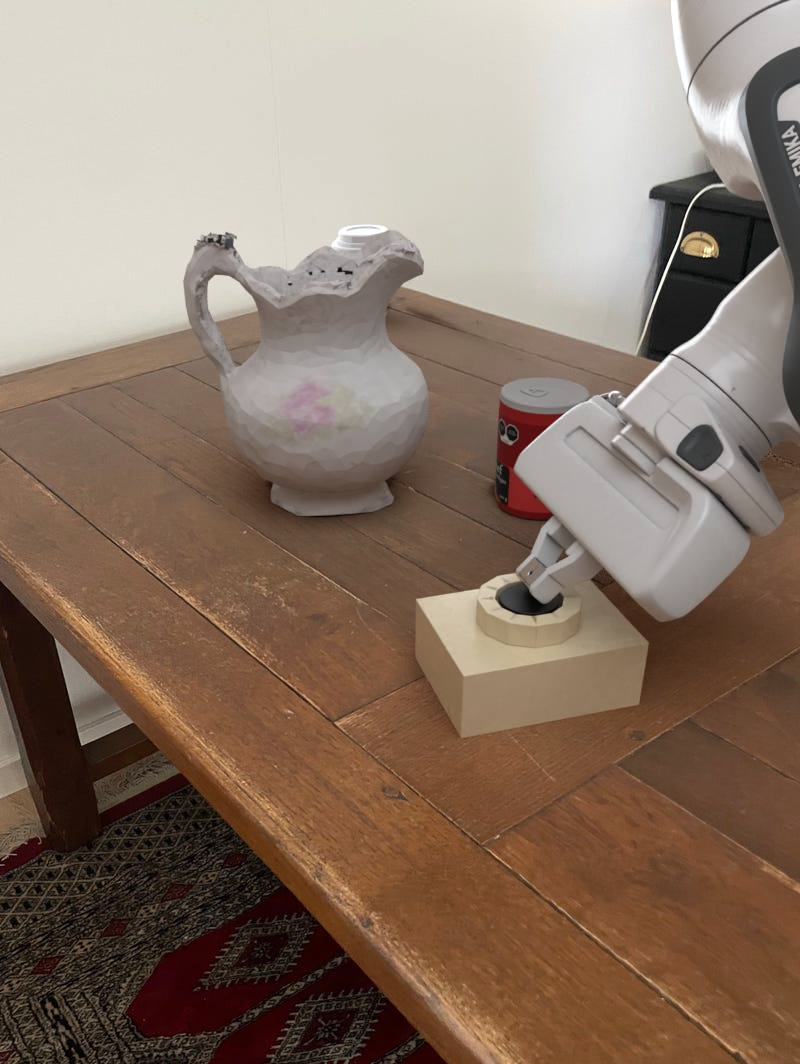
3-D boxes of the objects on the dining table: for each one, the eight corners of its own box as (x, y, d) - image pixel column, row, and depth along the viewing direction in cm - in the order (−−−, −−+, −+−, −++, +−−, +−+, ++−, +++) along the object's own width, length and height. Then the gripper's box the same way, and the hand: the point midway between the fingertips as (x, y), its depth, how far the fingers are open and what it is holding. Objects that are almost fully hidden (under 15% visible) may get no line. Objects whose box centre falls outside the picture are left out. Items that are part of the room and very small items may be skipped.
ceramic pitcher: (215, 556, 93) (186, 283, 78) (201, 457, 109) (174, 212, 93) (446, 531, 96) (461, 261, 80) (400, 437, 111) (406, 195, 96)
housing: (576, 630, 79) (585, 549, 75) (639, 705, 71) (653, 619, 67) (414, 658, 77) (415, 576, 73) (460, 739, 68) (464, 652, 65)
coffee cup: (404, 319, 148) (404, 232, 142) (344, 327, 147) (342, 239, 140) (384, 303, 156) (383, 220, 149) (326, 311, 154) (323, 226, 147)
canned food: (507, 480, 102) (514, 372, 95) (588, 493, 98) (600, 382, 92) (482, 513, 96) (488, 400, 90) (567, 527, 93) (578, 411, 87)
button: (542, 600, 73) (544, 579, 72) (566, 630, 69) (569, 608, 68) (489, 609, 72) (490, 588, 71) (511, 639, 69) (513, 617, 68)
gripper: (584, 356, 73) (448, 498, 76) (748, 472, 56) (563, 647, 60) (633, 409, 76) (500, 543, 80) (802, 533, 59) (624, 695, 63)
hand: (528, 589), depth 70 cm, fingers closed, pressing on button
